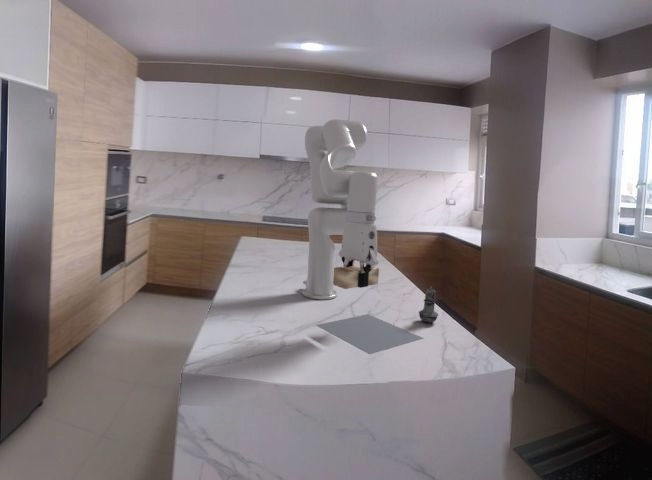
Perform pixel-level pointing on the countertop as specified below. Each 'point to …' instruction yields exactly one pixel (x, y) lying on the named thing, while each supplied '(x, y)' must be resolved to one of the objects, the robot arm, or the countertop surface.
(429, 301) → the grey chess piece
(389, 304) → the countertop surface
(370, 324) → the slate mat
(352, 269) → the beige brown block
